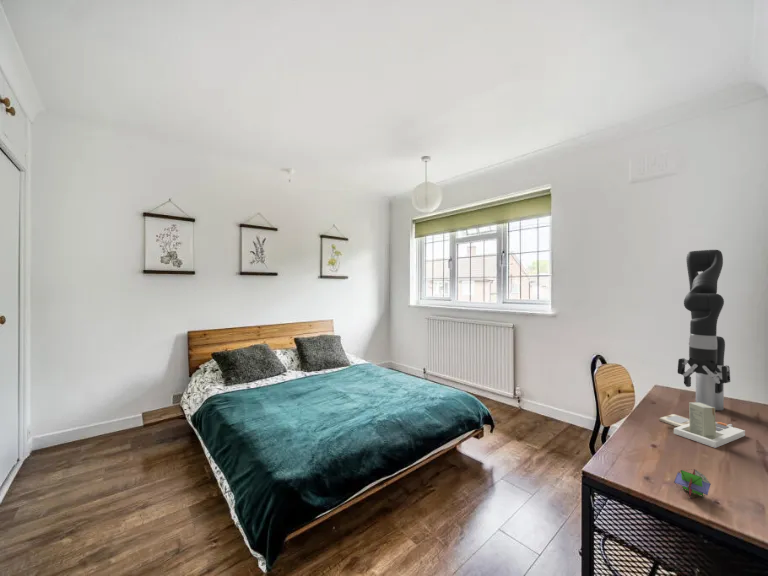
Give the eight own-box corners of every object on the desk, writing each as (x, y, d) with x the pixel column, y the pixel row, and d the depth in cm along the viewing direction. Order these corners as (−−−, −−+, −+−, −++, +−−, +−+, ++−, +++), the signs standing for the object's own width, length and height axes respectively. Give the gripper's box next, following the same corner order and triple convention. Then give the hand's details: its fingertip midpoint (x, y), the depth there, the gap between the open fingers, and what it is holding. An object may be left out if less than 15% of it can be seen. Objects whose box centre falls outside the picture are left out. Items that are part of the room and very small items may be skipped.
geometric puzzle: (704, 501, 83) (709, 470, 86) (670, 487, 89) (675, 458, 91) (709, 508, 87) (713, 478, 89) (675, 495, 92) (680, 467, 95)
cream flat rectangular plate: (673, 416, 141) (673, 413, 141) (697, 423, 134) (697, 420, 134) (658, 420, 136) (658, 418, 136) (682, 428, 129) (682, 425, 129)
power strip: (711, 420, 136) (711, 414, 136) (752, 432, 125) (752, 425, 125) (673, 433, 125) (673, 426, 125) (715, 447, 114) (715, 440, 114)
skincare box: (716, 441, 118) (716, 408, 118) (704, 441, 119) (704, 408, 118) (699, 433, 125) (700, 401, 125) (688, 433, 125) (688, 401, 125)
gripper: (734, 349, 116) (733, 394, 116) (684, 342, 129) (684, 383, 129) (723, 351, 113) (723, 397, 113) (674, 344, 126) (673, 385, 126)
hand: (702, 389), depth 121 cm, fingers open, 8 cm apart
